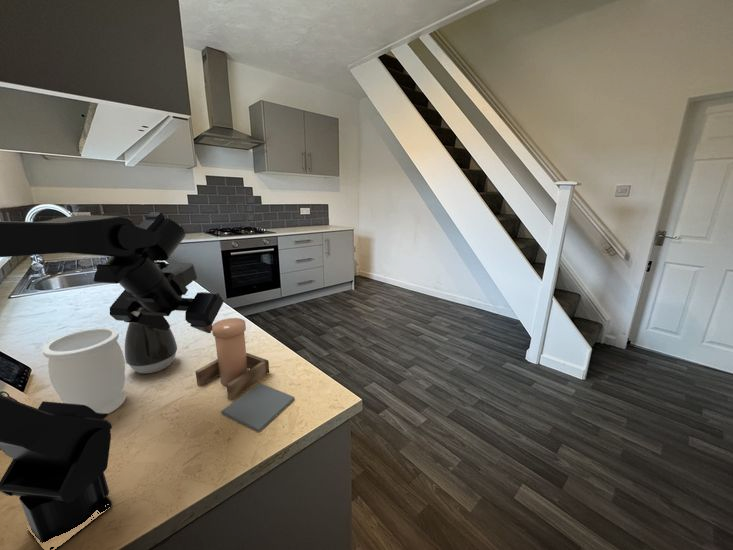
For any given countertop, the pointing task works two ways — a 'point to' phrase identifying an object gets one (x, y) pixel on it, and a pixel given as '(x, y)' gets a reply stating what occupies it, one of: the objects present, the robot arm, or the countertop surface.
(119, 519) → the countertop surface
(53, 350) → the jar
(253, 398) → the mat
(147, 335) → the pump dispenser
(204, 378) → the frame
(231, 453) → the countertop surface
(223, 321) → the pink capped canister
